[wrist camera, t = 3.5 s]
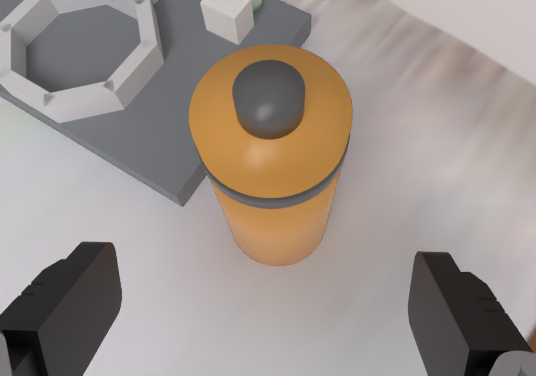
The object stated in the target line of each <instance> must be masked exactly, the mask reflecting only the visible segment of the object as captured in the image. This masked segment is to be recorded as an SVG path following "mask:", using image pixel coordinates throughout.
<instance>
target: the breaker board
mask: <svg viewBox="0 0 536 376" xmlns="http://www.w3.org/2000/svg"><path fill="white" fill-rule="evenodd" d="M310 28H311V14H309V13H306V12H304V11H302V10H300V9H297V8H295V7H293V6H290V5H288V4H286V3H284V2H281V1H279V0H0V96H1V97H3V98H4V99H6V100H8V101H9V102H11V103H13V104H14V105H16V106H18V107H19V108H21V109H22V110H24V111H26V112H27V113H29V114H31V115H32V116H34V117H36V118H37V119H39V120H41V121H42V122H44V123H46V124H47V125H49V126H50V127H52V128H54V129H55V130H57V131H59V132H60V133H62V134H64V135H65V136H67V137H69V138H70V139H72V140H73V141H75V142H77V143H78V144H80V145H82V146H83V147H85V148H87V149H88V150H90V151H92V152H93V153H95V154H97V155H98V156H100V157H101V158H103V159H105V160H106V161H108V162H110V163H111V164H113V165H115V166H116V167H118V168H120V169H121V170H123V171H124V172H126V173H128V174H129V175H131V176H133V177H134V178H136V179H138V180H139V181H141V182H143V183H144V184H146V185H147V186H149V187H151V188H152V189H154V190H156V191H157V192H159V193H161V194H162V195H164V196H166V197H167V198H169V199H171V200H172V201H174V202H175V203H177V204H179V205H180V206H182V207H183V206H184V205H185V203H186V202H187V201H188V199H189V198H190V196H191V195H192V194H193V192H194V191H195V190H196V188H197V187H198V186H199V184H200V183H201V181H202V180H203V179H204V177H205V176H206V175H207V174H206V172H205V170H204V168H203V165H202V163H201V161H200V158H199V156H198V154H197V150H196V146H195V142H194V140H193V137H192V134H191V130H190V125H189V108H190V103H191V99H192V96H193V93H194V91H195V89H196V87H197V85H198V83H199V82H200V80H201V79H202V77H203V76H204V75H205V74H206V73H207V71H208V70H209V69H210V68H211V67H213V66H214V65H215V64H216V63H217V62H219V61H220V60H222V59H223V58H225V57H226V56H228V55H230V54H232V53H234V52H237V51H239V50H242V49H245V48H249V47H252V46H258V45H268V44H278V45H287V46H293V47H297V48H300V46H301V45H302V44H303V42H304V41H305V40H306V38H307V37H308V36H309V34H310Z"/></svg>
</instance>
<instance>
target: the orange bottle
mask: <svg viewBox="0 0 536 376" xmlns="http://www.w3.org/2000/svg"><path fill="white" fill-rule="evenodd" d="M352 113H353V109H352V101H351V97H350V94H349V91H348V89H347V86H346V84H345V83H344V81H343V79H342V78H341V76H340V75H339V74H338V73H337V71H336V70H335V69H334V68H333V67H332V66H331V65H330V64H328V63H327V62H326V61H324V60H323V59H322V58H320V57H319V56H317V55H315V54H313V53H311V52H309V51H306V50H304V49H301V48H297V47H293V46H287V45H278V44H268V45H258V46H252V47H249V48H245V49H242V50H239V51H237V52H234V53H232V54H230V55H228V56H226V57H225V58H223V59H222V60H220V61H219V62H217V63H216V64H215V65H214V66H213V67H211V68H210V69H209V70H208V71H207V73H206V74H205V75H204V76H203V77H202V79H201V80H200V82H199V83H198V85H197V87H196V89H195V91H194V93H193V96H192V99H191V103H190V108H189V125H190V130H191V134H192V137H193V140H194V142H195V146H196V150H197V154H198V156H199V158H200V161H201V163H202V165H203V168H204V170H205V172H206V174H207V175H208V177H209V179H210V181H211V183H212V186H213V188H214V191H215V193H216V195H217V198H218V200H219V203H220V205H221V208H222V210H223V212H224V215H225V217H226V220H227V222H228V225H229V227H230V229H231V232H232V234H233V237H234V239H235V241H236V243H237V244H238V246H239V247H240V249H241V250H242V251H243V252H244V253H245V254H246V255H247V256H249V257H250V258H252V259H253V260H255V261H257V262H260V263H262V264H266V265H271V266H285V265H290V264H294V263H296V262H299V261H301V260H303V259H304V258H306V257H307V256H309V255H310V254H311V253H312V252H313V251H314V250H315V249H316V248H317V246H318V245H319V243H320V242H321V240H322V238H323V235H324V232H325V228H326V224H327V220H328V216H329V212H330V208H331V204H332V200H333V196H334V192H335V188H336V184H337V180H338V176H339V173H340V169H341V167H342V164H343V161H344V159H345V155H346V151H347V147H348V143H349V137H350V129H351V123H352Z"/></svg>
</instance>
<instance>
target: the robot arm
mask: <svg viewBox="0 0 536 376" xmlns="http://www.w3.org/2000/svg"><path fill="white" fill-rule="evenodd" d="M121 301H122V289H121V283H120V276H119V270H118V263H117V257H116V251H115V247H114V245H113V244H112V243H111V242H81V243H80V244H79V245H78V246H77V247H76V248H75V250H74V251H73V252H72V253H71V254H70V255H69V256H68V257H67V258H66V259H61V260H59V261H57V262H56V263H54V264H52V265H51V266H49V267H47V268H46V269H44V270H43V271H42V272H41V273H40V274H39V275H38V276H37V277H36V278H35V279H34V280H33V281H32V282H31V285H28V286H27V287H26V288H25V290H24V291H23V292H22V293H21V296H18V297H17V298H16V299H15V300H14V301H13V302H12V303H11V304H10V305H9V306H8V307H7V308H6V309H5V310H4V311H3V313H2V314H1V315H0V376H83V374H84V372H85V371H86V369H87V367H88V365H89V364H90V362H91V360H92V359H93V357H94V355H95V353H96V352H97V350H98V348H99V346H100V345H101V343H102V341H103V339H104V338H105V336H106V334H107V333H108V331H109V329H110V327H111V326H112V324H113V322H114V320H115V319H116V317H117V315H118V313H119V310H120V307H121ZM408 316H409V322H410V326H411V329H412V332H413V335H414V338H415V340H416V343H417V346H418V349H419V352H420V354H421V357H422V360H423V363H424V366H425V368H426V371H427V374H428V376H536V354H535V353H533V351H532V350H531V348H530V347H529V345H528V344H527V342H526V341H525V339H524V338H523V336H522V335H521V334H520V332H519V331H518V329H517V328H516V326H515V325H514V323H513V322H512V320H511V319H510V317H509V316H508V314H507V313H505V310H504V309H503V307H502V306H501V304H500V303H499V301H497V298H496V297H495V295H494V294H493V293H492V291H491V290H490V288H489V287H488V285H487V284H486V283H484V282H483V281H482V280H480V279H479V278H478V277H476V276H475V275H473V274H472V273H471V272H461V271H460V270H459V268H458V267H457V265H456V263H455V262H454V260H453V258H452V257H451V255H450V254H449V253H448V252H420V251H419V252H417V253H416V255H415V259H414V266H413V273H412V280H411V287H410V294H409V301H408Z"/></svg>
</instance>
